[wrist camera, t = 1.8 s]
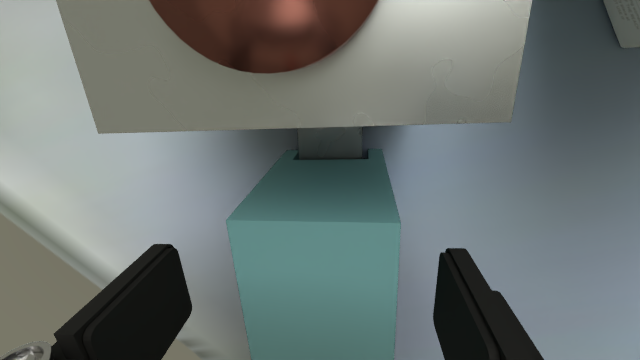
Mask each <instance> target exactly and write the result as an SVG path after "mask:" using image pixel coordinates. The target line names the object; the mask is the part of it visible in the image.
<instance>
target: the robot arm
mask: <svg viewBox="0 0 640 360" xmlns="http://www.w3.org/2000/svg"><path fill="white" fill-rule="evenodd" d="M191 311H192V304H191V300H190V296H189V292H188V288H187V284H186V280H185V277H184V273H183V269H182V265H181V261H180V257H179V254H178V251H177V249H175V248H174V247H173V246H172V245H171V244H154V245H153V246H151V247H150V248H149V249H148V250H147V251H146V252H145V253H143V254H142V255H141V256H140V257H139V258H138V259H137V260H136V261H134V262H133V263H132V264H131V265H130V266H129V267H128V268H127V269H126V270H124V271H123V272H122V273H121V274H120V275H119V276H118V277H117V278H116V279H114V280H113V281H112V282H111V283H110V284H109V285H108V286H107V287H105V288H104V289H103V290H102V291H101V292H100V293H99V294H98V295H97V296H95V297H94V298H93V299H92V300H91V301H90V302H89V303H88V304H87V305H85V306H84V307H83V308H82V309H81V310H80V311H79V312H78V313H76V314H75V315H74V316H73V317H72V318H71V319H70V320H69V321H68V322H66V323H65V324H64V325H63V326H62V327H61V328H60V329H59V330H58V331H56V332H55V333H54V336H55V338H56V340H57V342H56V343H55V344H54V345H53V346H52V347H51V345H50V344H49V343H47V342H43V341H38V342H31V343H28V344H25V345H22V346H20V347H18V348H15V349H13V350H11V351H9V352H8V353H6V354H4V355H3V356H1V357H0V360H161V359H162V358H163V356H164V355H165V353H166V351H167V350H168V348H169V347H170V345H171V344H172V342H173V341H174V339H175V338H176V336H177V335H178V333H179V332H180V330H181V329H182V327H183V325H184V324H185V322H186V321H187V319H188V318H189V316H190V314H191ZM433 320H434V326H435V329H436V333H437V336H438V339H439V342H440V345H441V349H442V352H443V355H444V358H445V360H544V359H543V357H542V356H541V354H540V353H539V351H538V350H537V348H536V347H535V345H534V344H533V342H532V340H531V339H530V337H529V336H528V334H527V333H526V331H525V330H524V328H523V327H522V325H521V324H520V322H519V320H518V319H517V317H516V316H515V314H514V313H513V311H512V310H511V308H510V307H509V305H508V303H507V302H506V300H505V299H504V297H503V296H502V295H501V293H500V292H498V291H492V290H491V289H490V287H489V285H488V284H487V282H486V280H485V279H484V277H483V276H482V274H481V272H480V271H479V269H478V267H477V266H476V264H475V263H474V261H473V259H472V258H471V256H470V254H469V253H468V251H467V250H466V249H462V248H447V249H446V251H445V253H440V257H439V267H438V276H437V285H436V294H435V304H434V313H433Z"/></svg>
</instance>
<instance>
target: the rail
mask: <svg viewBox="0 0 640 360" xmlns="http://www.w3.org/2000/svg"><path fill="white" fill-rule="evenodd" d="M297 135H298V148H299V160H334V159H362V126H353V127H317V128H297Z"/></svg>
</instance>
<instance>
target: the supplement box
mask: <svg viewBox="0 0 640 360" xmlns="http://www.w3.org/2000/svg"><path fill="white" fill-rule="evenodd" d="M603 1H604V4H605V7H606V9H607V12H608V15H609V17H610V20H611V23H612V25H613V28H614V31H615V33H616V36H617V38H618V41H619V43H620V45H621V47H623V48H633V47H640V0H603Z"/></svg>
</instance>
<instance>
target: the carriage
mask: <svg viewBox="0 0 640 360" xmlns="http://www.w3.org/2000/svg"><path fill="white" fill-rule="evenodd" d="M226 224H227V229H228V235H229V240H230V246H231V251H232V256H233V262H234V267H235V273H236V278H237V284H238V289H239V294H240V300H241V305H242V311H243V316H244V322H245V327H246V332H247V338H248V343H249V349H250V354H251V360H394V349H395V329H396V309H397V289H398V269H399V249H400V229H401V222H400V218H399V214H398V210H397V206H396V202H395V199H394V195H393V191H392V187H391V183H390V179H389V175H388V171H387V167H386V163H385V160H384V156H383V152H382V149H368V159H334V160H299V150H287V151H286V152H285V153H284V154H283V155H282V156H281V158H280V159H279V160H278V161H277V162H276V163H275V164H274V166H273V167H272V168H271V169H270V170H269V171H268V172H267V174H266V175H265V176H264V177H263V178H262V179H261V181H260V182H259V183H258V184H257V185H256V186H255V187H254V189H253V190H252V191H251V192H250V193H249V194H248V196H247V197H246V198H245V199H244V200H243V201H242V202H241V204H240V205H239V206H238V207H237V208H236V209H235V210H234V212H233V213H232V214H231V215H230V216H229V217H228V219H227V220H226Z"/></svg>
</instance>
